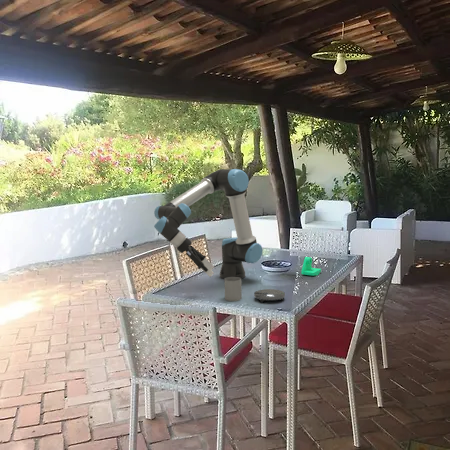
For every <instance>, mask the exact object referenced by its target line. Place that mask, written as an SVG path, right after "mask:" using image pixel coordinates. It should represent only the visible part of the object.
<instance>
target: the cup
mask: <svg viewBox="0 0 450 450" xmlns="http://www.w3.org/2000/svg"><path fill="white" fill-rule="evenodd" d="M242 293H243V292H242V278H239V277H228V278H225V279H224V300H226V301H228V302H236V301H240V300H242V299H243V298H242V297H243V296H242Z"/></svg>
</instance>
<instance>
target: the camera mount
mask: <svg viewBox="0 0 450 450" xmlns="http://www.w3.org/2000/svg"><path fill="white" fill-rule="evenodd" d="M312 263H313V258H312V257H309V256H305V257H304V260H303V264H302V267H301V275H305V276H306V275H307V276H314V277H317V276H318V275H320V273H321V272H322V268H315V267H312Z"/></svg>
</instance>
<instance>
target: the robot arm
mask: <svg viewBox="0 0 450 450" xmlns="http://www.w3.org/2000/svg"><path fill="white" fill-rule="evenodd" d="M249 180H250V179H249V176H248V174H247V173H246V172H245V171H243V170H242V169H238V168H221V169H217V170H215V171H213V172H211V173H209V174H208V175H206V176H205V177H202V179H201V180H200V182H199V183H197V184H196V185H194V186H192V187H191V188H189V189H188V190H186V191H184V192H183V193H181V194H180V195H178V196H177V197H175V198H174V199H172V200H170V201H169V202H168V203H166V204H164V205H158V206H156V208H155V209H154V213H153V214H154V217H155V219H157V220H158V221H156V223H155V224H154V229H155V230H156V231H157V232H158V233H159V234H160V235H161V236H162V237H163V238H164V239H166V240H167V241H168V242H169V243H170V245H171V246H173V247H174V248H176V250H177V251H178V252H179V253H180V254H183V253H184V252H185V255H186V256H188V258H190V260H191V261H192V262H193V264H194V265H196V266H197V268H198V270H200V269H201V270H202V272H204V273H205V275H207V276H208V277H209V278H211V277H212V276H213V275H214V274H215V272H214V271H213V270H214V269H215V266H214V265H213V263H211V262H210V261H209V259H207V256H206V255H204V254H202V253H201V252H200V251H198V250H197V249H196V248H195V247H194V246H193V245H192V241H191V240H190V239H189V238H188V237H186V235H185V234H184V233H183V231H180V229H179V228H180V226H182V225H183V223H185V221H186V220H187V219H188V218H189V217H190V216H191V215H192V210H191V209H190V206H192V205H193V204H195V203H196V202H198V201H199V200H201V199H203V198H204V197H206V196H207V195H208V194H209V195H210V194H214V193H216V192H218V191H223V192H224V195H225V197H226V198H228V200H229V204H230V210H231V213H232V214H231V215H232V219H233V224H234V227H235V228H234V229H235V231H236V232H235V234H236V236H235V237H227V238H224V239H222V241H221V260H222V263H221V268H220V270H219V277H220V278H221V279H225V278H228V277H239V278H241V279H243V278H246V271H245V268H244V265H243V263H247V264H256V263H258V262H259V261H260V259H261V258H262V256H263V251H264V249H263V246H262V245H261V243H258V241H257V236H255V235H253V232H252V226H251V221H250V217H249V212H248V207H247V202H246V197H245V194H246V193H247V189H248V186H249V184H250V182H249Z"/></svg>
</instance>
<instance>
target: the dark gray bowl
mask: <svg viewBox="0 0 450 450" xmlns="http://www.w3.org/2000/svg"><path fill="white" fill-rule="evenodd" d="M253 295H254V296H253V297H254V298H255V299H257V300H259V302H260V303H266V302H267V301H279V302H280V301H283V300H284V298H285V297H286V293H285V292H284V291H283V290H280V289H275V288H273V289H271V288H270V289H267V288H266V289H259V290H256V291H255V292H254V294H253Z"/></svg>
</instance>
